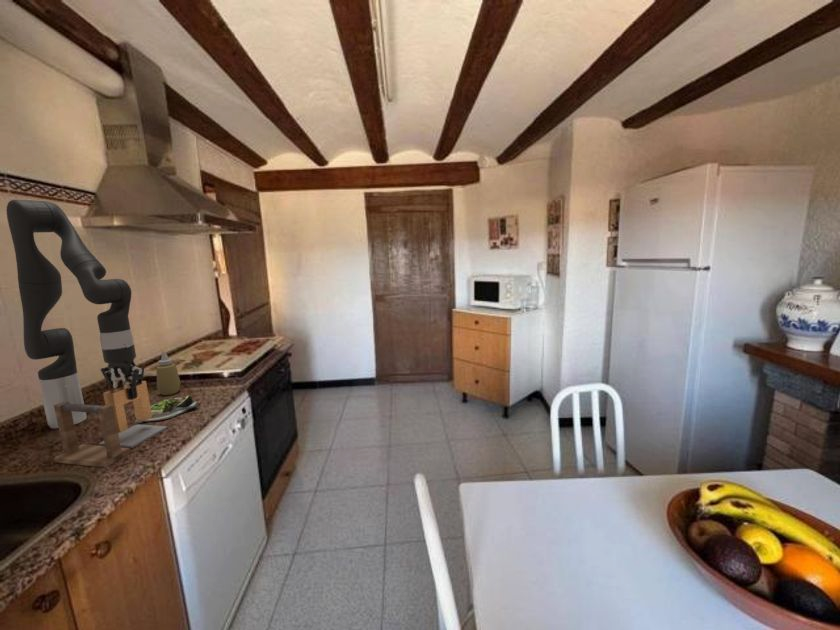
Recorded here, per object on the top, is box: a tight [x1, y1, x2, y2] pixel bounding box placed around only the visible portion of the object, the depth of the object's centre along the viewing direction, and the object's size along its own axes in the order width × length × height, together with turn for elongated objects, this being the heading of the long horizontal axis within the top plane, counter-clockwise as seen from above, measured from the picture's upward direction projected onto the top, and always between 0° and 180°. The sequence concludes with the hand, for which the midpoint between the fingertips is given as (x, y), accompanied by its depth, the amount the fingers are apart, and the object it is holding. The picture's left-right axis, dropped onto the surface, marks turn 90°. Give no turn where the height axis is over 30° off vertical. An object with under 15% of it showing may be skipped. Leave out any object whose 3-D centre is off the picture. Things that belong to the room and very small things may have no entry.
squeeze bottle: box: [155, 351, 181, 396], centre depth 145 cm, size 8×8×18 cm
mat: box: [98, 424, 168, 449], centre depth 111 cm, size 12×12×1 cm
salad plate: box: [134, 394, 199, 423], centre depth 127 cm, size 19×18×5 cm
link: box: [102, 380, 152, 433], centre depth 109 cm, size 4×10×12 cm, turn 170°
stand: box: [54, 402, 132, 468], centre depth 98 cm, size 17×7×16 cm, turn 80°
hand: (127, 398), depth 109 cm, fingers closed on link, 3 cm apart
